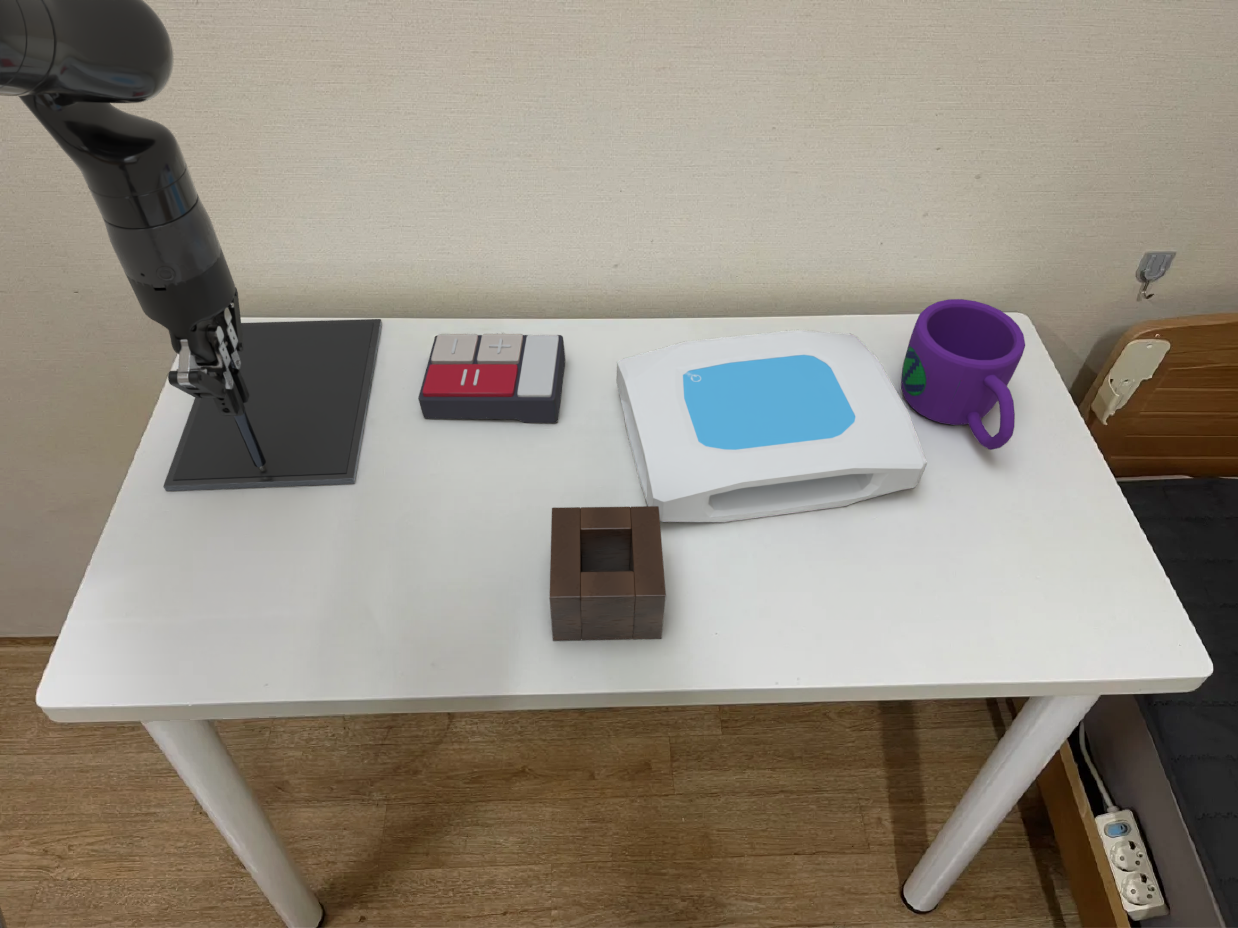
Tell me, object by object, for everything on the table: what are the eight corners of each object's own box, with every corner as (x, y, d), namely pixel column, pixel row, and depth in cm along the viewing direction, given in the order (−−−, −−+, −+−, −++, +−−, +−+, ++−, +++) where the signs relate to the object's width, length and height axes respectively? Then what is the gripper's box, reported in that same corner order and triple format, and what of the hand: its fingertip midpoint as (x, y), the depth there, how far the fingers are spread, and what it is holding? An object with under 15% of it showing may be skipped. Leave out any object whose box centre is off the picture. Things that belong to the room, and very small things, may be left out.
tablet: (354, 484, 92) (352, 478, 91) (165, 491, 90) (162, 485, 90) (382, 323, 109) (380, 317, 108) (223, 328, 108) (221, 322, 107)
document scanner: (917, 497, 92) (934, 456, 87) (652, 532, 88) (655, 492, 83) (846, 363, 106) (858, 321, 101) (615, 389, 102) (616, 347, 97)
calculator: (433, 329, 103) (563, 328, 102) (440, 357, 106) (565, 357, 105) (415, 394, 95) (554, 395, 95) (423, 423, 99) (558, 423, 98)
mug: (878, 370, 105) (900, 302, 97) (967, 359, 106) (995, 291, 99) (941, 480, 93) (971, 412, 86) (1040, 466, 95) (1077, 398, 88)
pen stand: (552, 641, 80) (549, 597, 74) (554, 552, 86) (551, 507, 81) (661, 639, 80) (665, 595, 75) (655, 551, 87) (658, 505, 81)
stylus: (258, 475, 91) (214, 373, 80) (255, 467, 91) (211, 365, 81) (269, 471, 91) (227, 369, 81) (267, 463, 92) (225, 361, 81)
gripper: (150, 207, 76) (215, 360, 89) (93, 306, 67) (174, 460, 80) (239, 207, 76) (290, 359, 89) (194, 305, 67) (259, 459, 80)
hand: (235, 406), depth 85 cm, fingers closed on stylus, 1 cm apart
